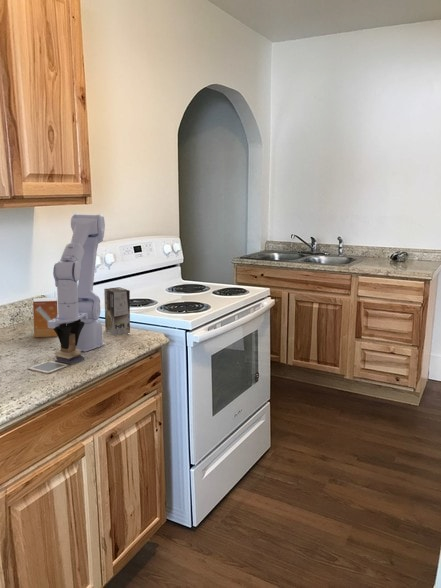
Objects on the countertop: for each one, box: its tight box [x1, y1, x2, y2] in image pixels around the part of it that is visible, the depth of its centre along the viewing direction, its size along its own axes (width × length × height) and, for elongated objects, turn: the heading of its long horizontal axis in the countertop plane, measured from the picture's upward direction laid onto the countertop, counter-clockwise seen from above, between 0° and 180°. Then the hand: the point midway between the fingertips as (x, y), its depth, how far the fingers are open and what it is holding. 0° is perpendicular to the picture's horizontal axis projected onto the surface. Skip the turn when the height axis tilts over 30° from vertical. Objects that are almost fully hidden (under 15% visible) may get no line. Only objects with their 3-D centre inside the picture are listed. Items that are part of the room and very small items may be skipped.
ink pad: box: [54, 355, 86, 366], centre depth 148 cm, size 6×6×1 cm
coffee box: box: [103, 286, 131, 337], centre depth 181 cm, size 9×6×16 cm
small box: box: [32, 297, 58, 338], centre depth 176 cm, size 8×6×13 cm
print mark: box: [27, 360, 70, 375], centre depth 142 cm, size 8×8×1 cm
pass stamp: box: [55, 333, 82, 361], centre depth 148 cm, size 5×5×7 cm
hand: (69, 346), depth 148 cm, fingers closed on pass stamp, 3 cm apart
